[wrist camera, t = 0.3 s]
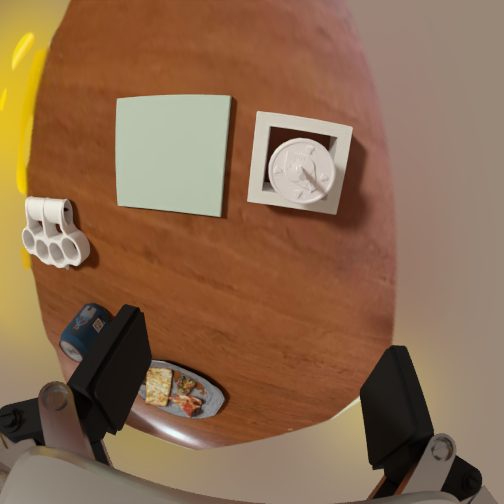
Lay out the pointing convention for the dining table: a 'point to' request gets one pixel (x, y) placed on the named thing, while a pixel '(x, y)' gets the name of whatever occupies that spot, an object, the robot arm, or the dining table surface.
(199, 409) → the food plate
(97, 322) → the soda can
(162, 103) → the serving mat
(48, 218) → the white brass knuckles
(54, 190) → the dining table surface
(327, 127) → the drink caddy
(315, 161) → the smoothie
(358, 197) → the dining table surface
